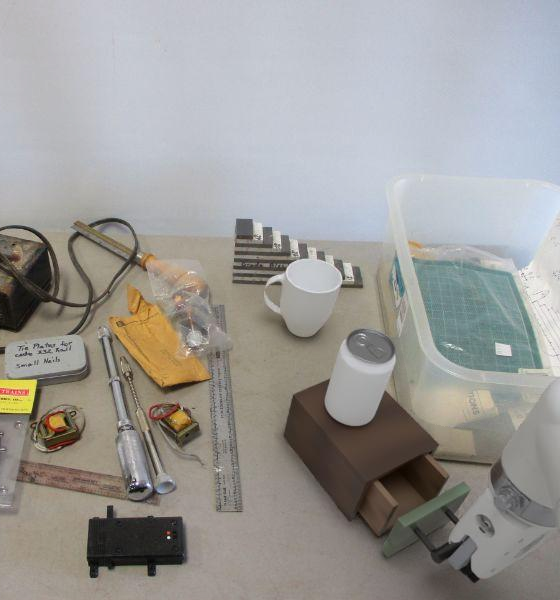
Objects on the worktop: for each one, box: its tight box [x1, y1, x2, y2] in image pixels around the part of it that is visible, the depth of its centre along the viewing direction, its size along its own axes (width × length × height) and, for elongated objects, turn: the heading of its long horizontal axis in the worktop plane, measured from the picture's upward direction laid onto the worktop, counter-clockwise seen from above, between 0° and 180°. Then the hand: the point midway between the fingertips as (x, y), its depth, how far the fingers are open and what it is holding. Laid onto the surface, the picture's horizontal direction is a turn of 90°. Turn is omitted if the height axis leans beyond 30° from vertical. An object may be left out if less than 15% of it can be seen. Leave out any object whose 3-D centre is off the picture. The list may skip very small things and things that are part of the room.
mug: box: [263, 258, 343, 338], centre depth 98 cm, size 12×9×12 cm
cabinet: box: [282, 377, 440, 522], centre depth 79 cm, size 15×12×10 cm
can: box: [325, 327, 397, 426], centre depth 73 cm, size 6×6×12 cm
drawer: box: [358, 453, 472, 565], centre depth 73 cm, size 18×10×8 cm, turn 27°
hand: (467, 567), depth 67 cm, fingers closed
